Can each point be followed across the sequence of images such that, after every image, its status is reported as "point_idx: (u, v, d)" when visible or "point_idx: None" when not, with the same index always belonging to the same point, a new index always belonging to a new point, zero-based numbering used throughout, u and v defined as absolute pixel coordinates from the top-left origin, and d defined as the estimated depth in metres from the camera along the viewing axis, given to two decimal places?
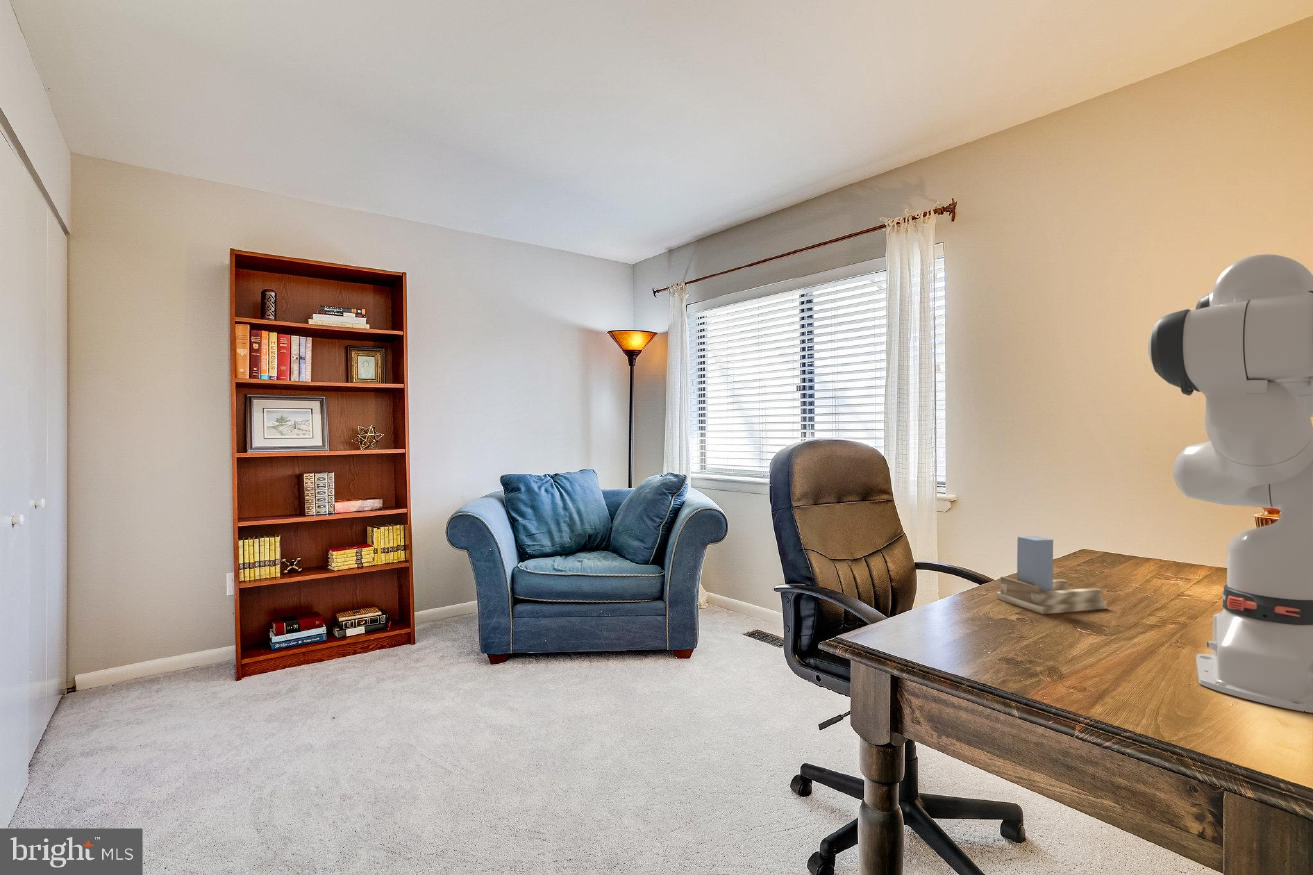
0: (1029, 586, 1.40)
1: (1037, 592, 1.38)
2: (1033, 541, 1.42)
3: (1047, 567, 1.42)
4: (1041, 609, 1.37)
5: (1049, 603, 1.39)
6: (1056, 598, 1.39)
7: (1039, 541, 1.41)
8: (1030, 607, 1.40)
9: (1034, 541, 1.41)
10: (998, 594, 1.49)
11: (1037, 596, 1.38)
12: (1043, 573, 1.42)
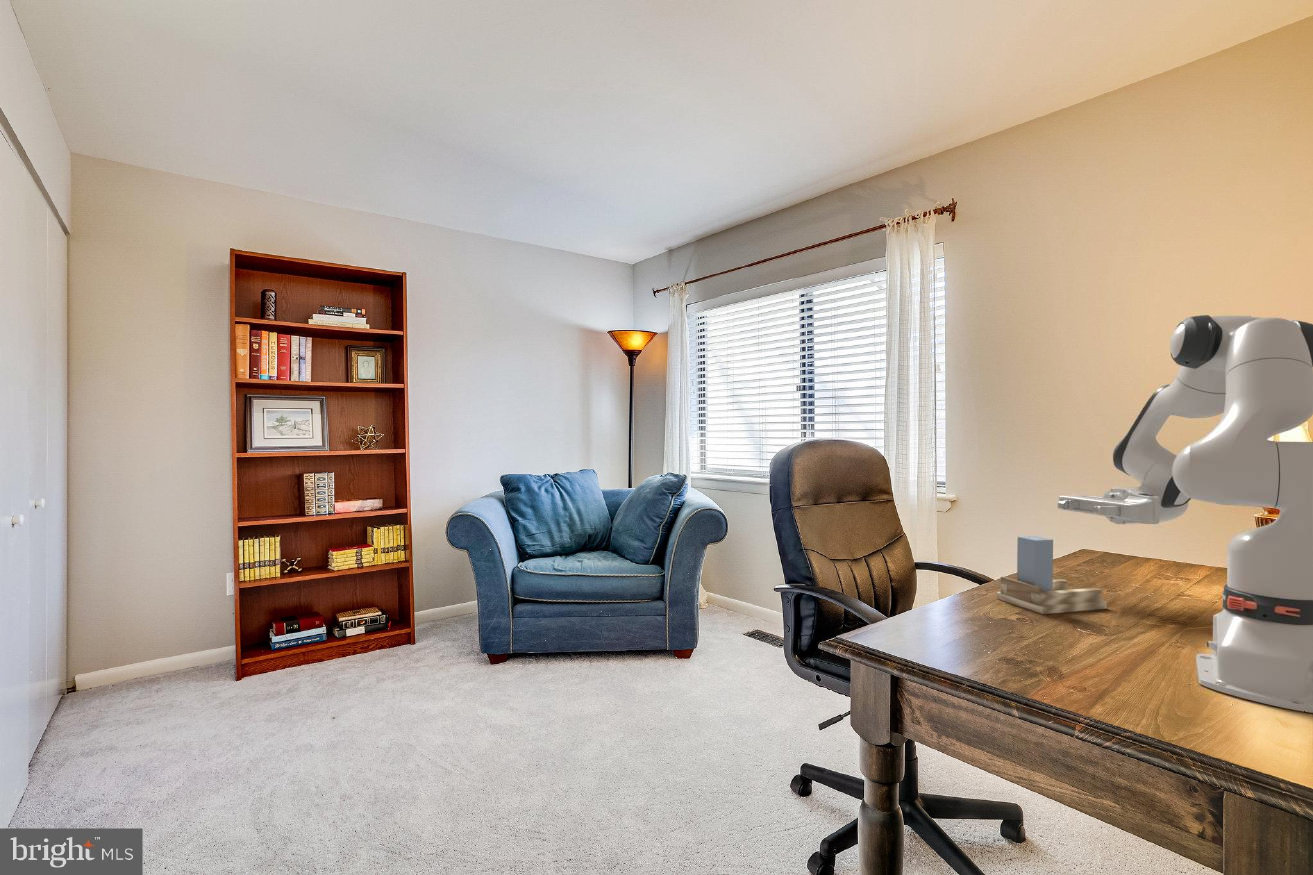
0: (1029, 586, 1.40)
1: (1037, 592, 1.38)
2: (1033, 541, 1.42)
3: (1047, 567, 1.42)
4: (1041, 609, 1.37)
5: (1049, 603, 1.39)
6: (1056, 598, 1.39)
7: (1039, 541, 1.41)
8: (1030, 607, 1.40)
9: (1034, 541, 1.41)
10: (998, 594, 1.49)
11: (1037, 596, 1.38)
12: (1043, 573, 1.42)
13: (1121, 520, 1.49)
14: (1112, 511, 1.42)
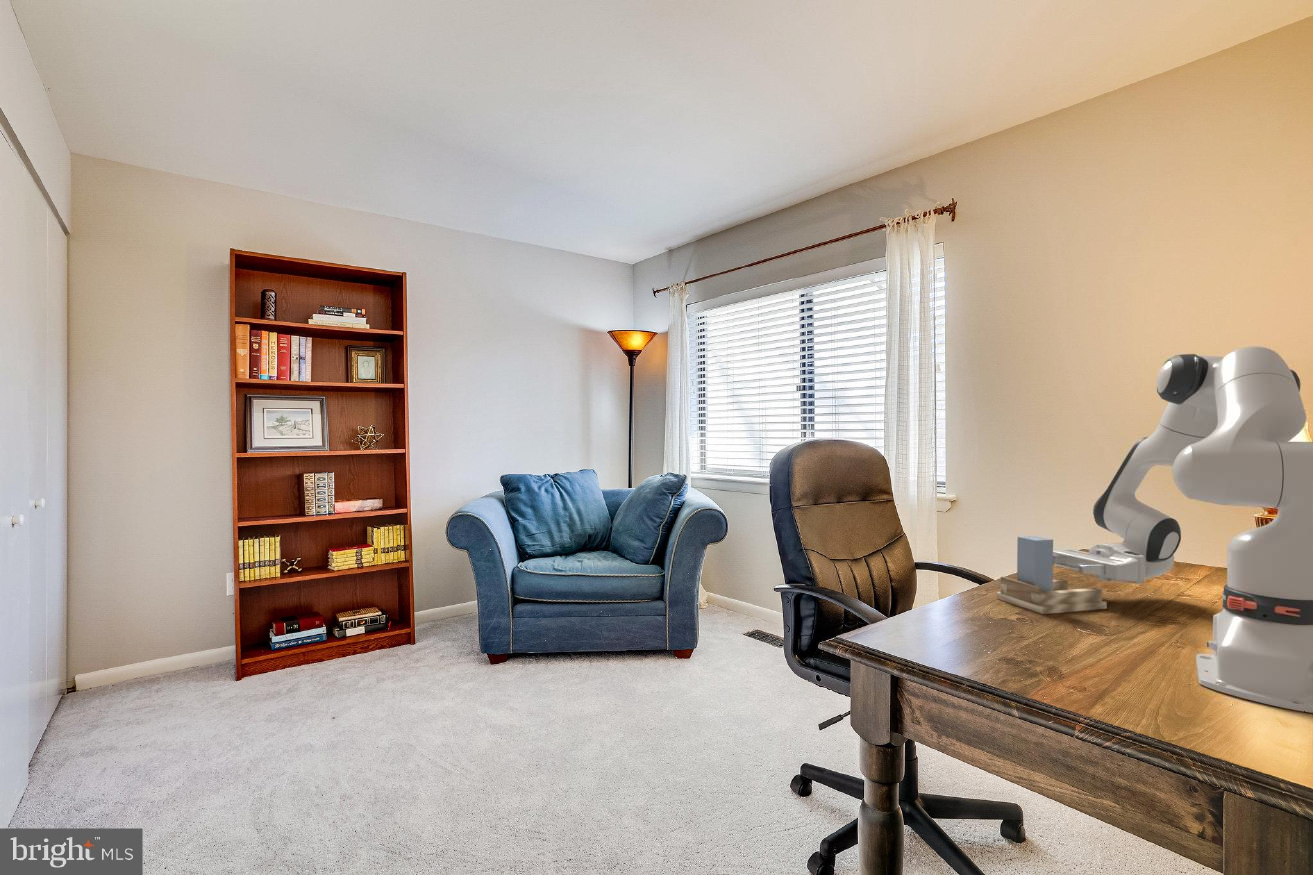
0: (1029, 586, 1.40)
1: (1037, 592, 1.38)
2: (1033, 541, 1.42)
3: (1047, 567, 1.42)
4: (1041, 609, 1.37)
5: (1049, 603, 1.39)
6: (1056, 598, 1.39)
7: (1039, 541, 1.41)
8: (1030, 607, 1.40)
9: (1034, 541, 1.41)
10: (998, 594, 1.49)
11: (1037, 596, 1.38)
12: (1043, 573, 1.42)
13: None
14: (1097, 570, 1.41)
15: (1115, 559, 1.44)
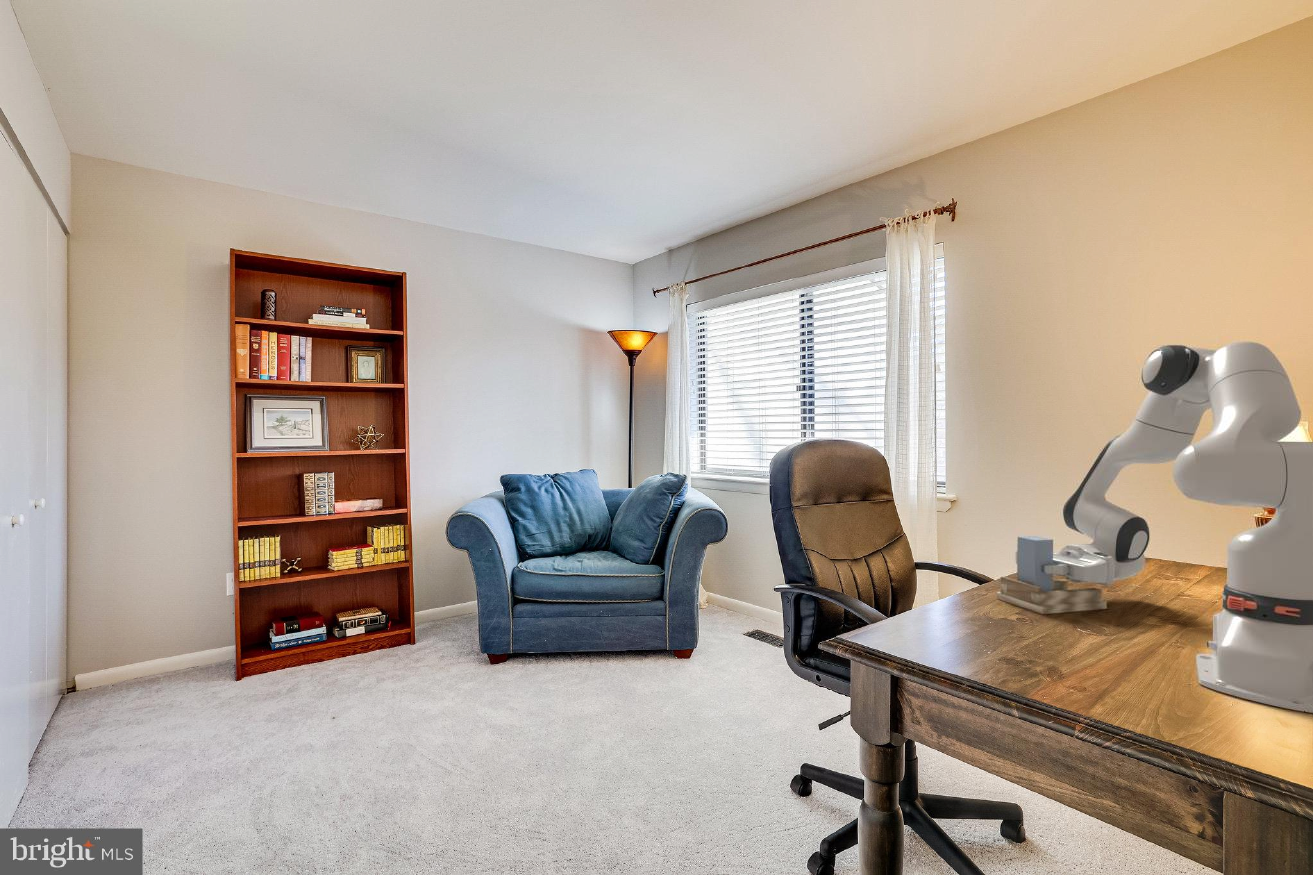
0: (1029, 586, 1.40)
1: (1037, 592, 1.38)
2: (1033, 541, 1.42)
3: None
4: (1041, 609, 1.37)
5: (1049, 603, 1.39)
6: (1056, 598, 1.39)
7: (1039, 541, 1.41)
8: (1030, 607, 1.40)
9: (1034, 541, 1.41)
10: (998, 594, 1.49)
11: (1037, 596, 1.38)
12: (1043, 573, 1.42)
13: None
14: (1059, 570, 1.40)
15: (1084, 560, 1.42)
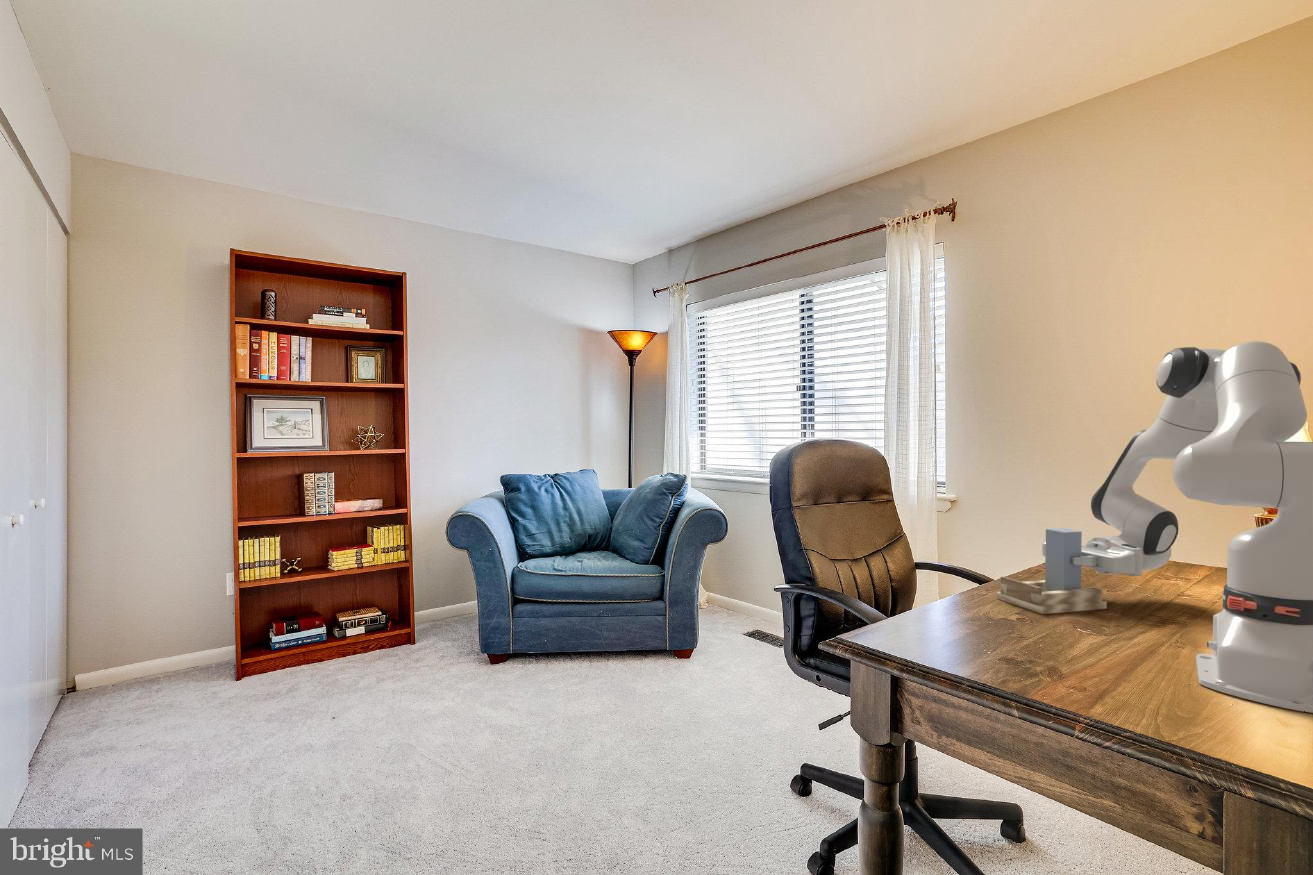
0: (1029, 586, 1.40)
1: (1037, 592, 1.38)
2: (1062, 533, 1.44)
3: None
4: (1041, 609, 1.37)
5: (1049, 603, 1.39)
6: (1056, 598, 1.39)
7: (1068, 533, 1.44)
8: (1030, 607, 1.40)
9: (1063, 533, 1.43)
10: (998, 594, 1.49)
11: (1037, 596, 1.38)
12: (1072, 565, 1.44)
13: (1104, 570, 1.48)
14: (1088, 561, 1.42)
15: (1112, 552, 1.44)
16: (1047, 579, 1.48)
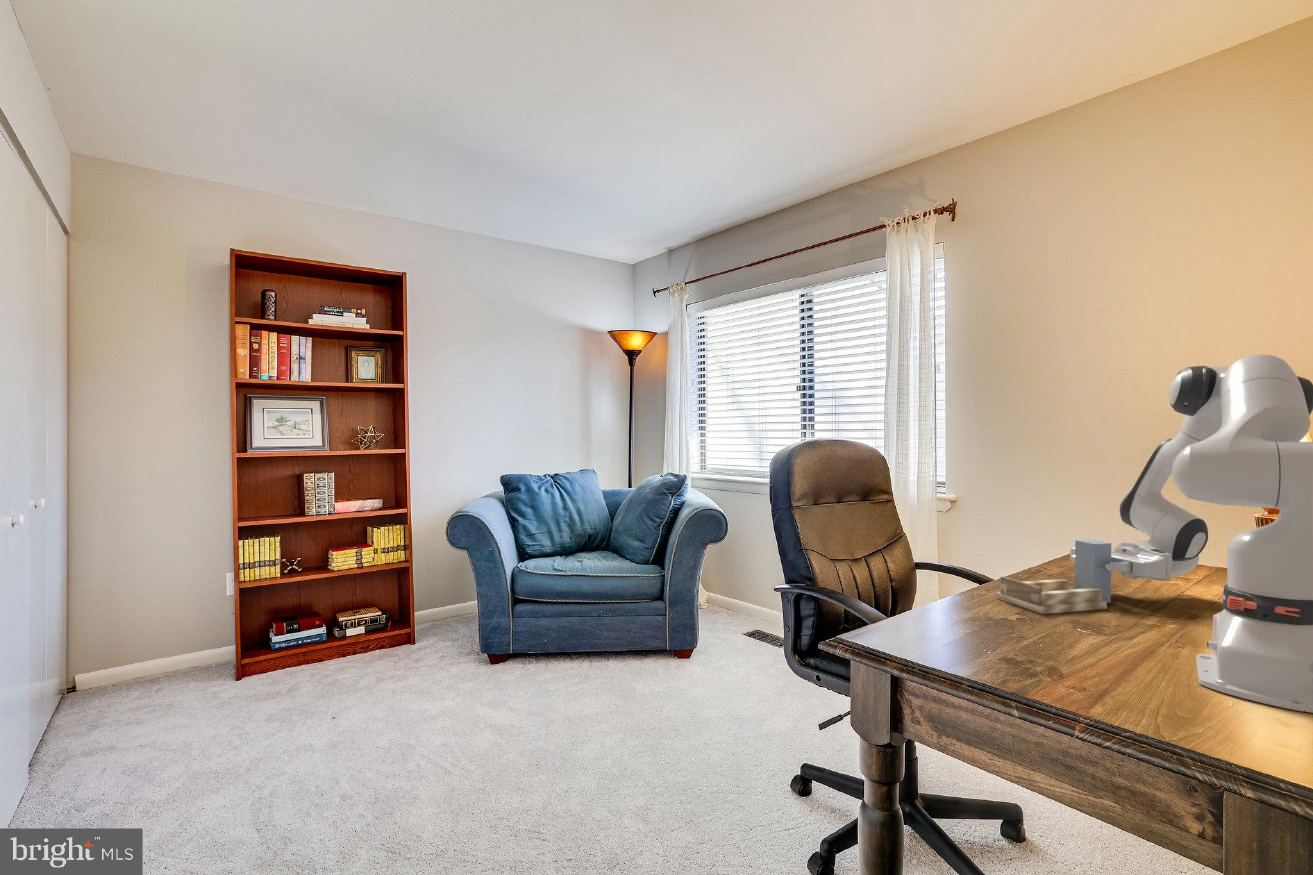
0: (1029, 586, 1.40)
1: (1037, 592, 1.38)
2: (1092, 545, 1.46)
3: (1105, 570, 1.46)
4: (1041, 609, 1.37)
5: (1049, 603, 1.39)
6: (1056, 598, 1.39)
7: (1098, 545, 1.46)
8: (1030, 607, 1.40)
9: (1093, 545, 1.46)
10: (998, 594, 1.49)
11: (1037, 596, 1.38)
12: (1102, 576, 1.46)
13: (1133, 574, 1.50)
14: (1123, 568, 1.43)
15: (1142, 557, 1.46)
16: None
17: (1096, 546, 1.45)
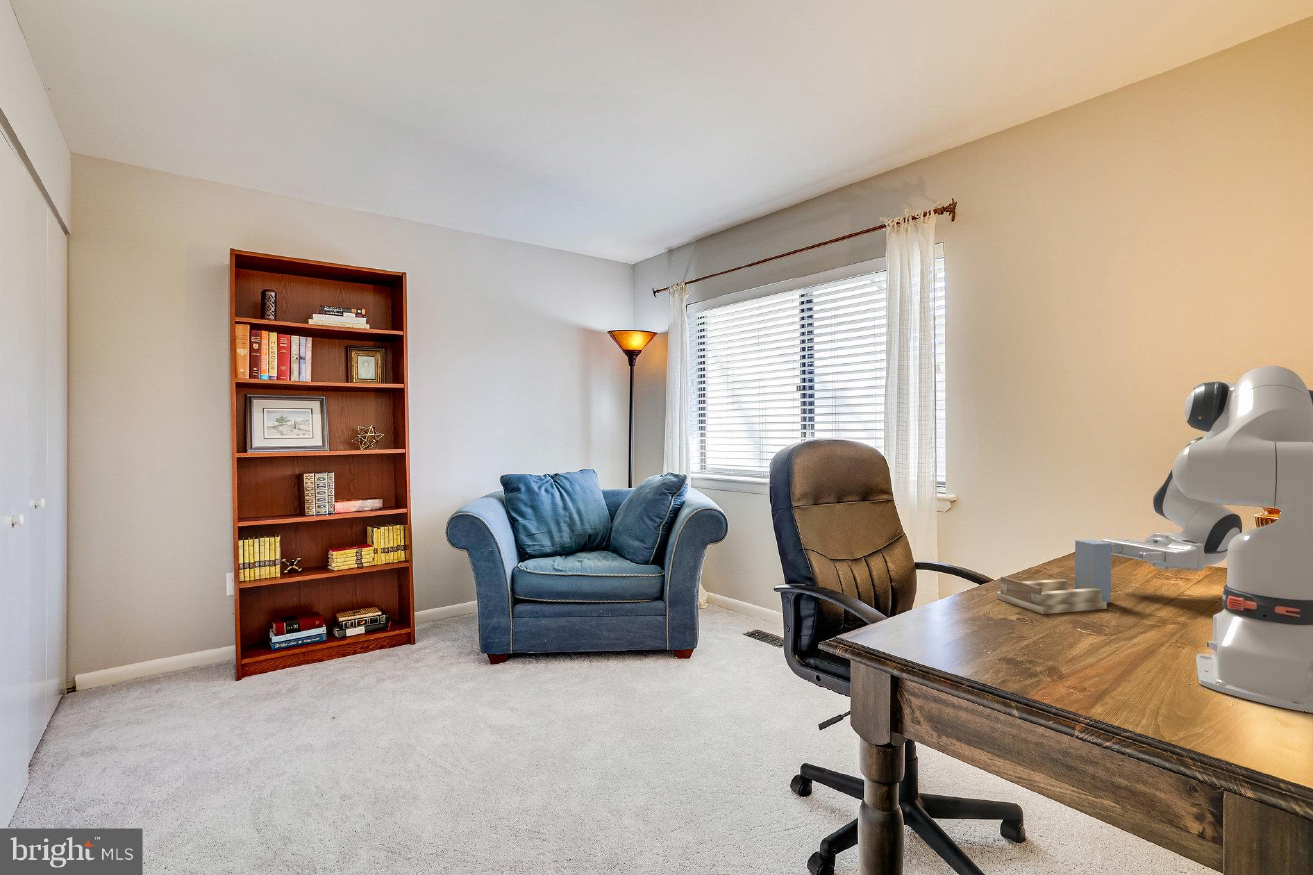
0: (1029, 586, 1.40)
1: (1037, 592, 1.38)
2: (1092, 545, 1.46)
3: (1106, 570, 1.46)
4: (1041, 609, 1.37)
5: (1049, 603, 1.39)
6: (1056, 598, 1.39)
7: (1098, 545, 1.46)
8: (1030, 607, 1.40)
9: (1093, 545, 1.46)
10: (998, 594, 1.49)
11: (1037, 596, 1.38)
12: (1102, 576, 1.46)
13: (1164, 565, 1.53)
14: (1157, 557, 1.45)
15: (1173, 547, 1.49)
16: None
17: (1096, 546, 1.45)
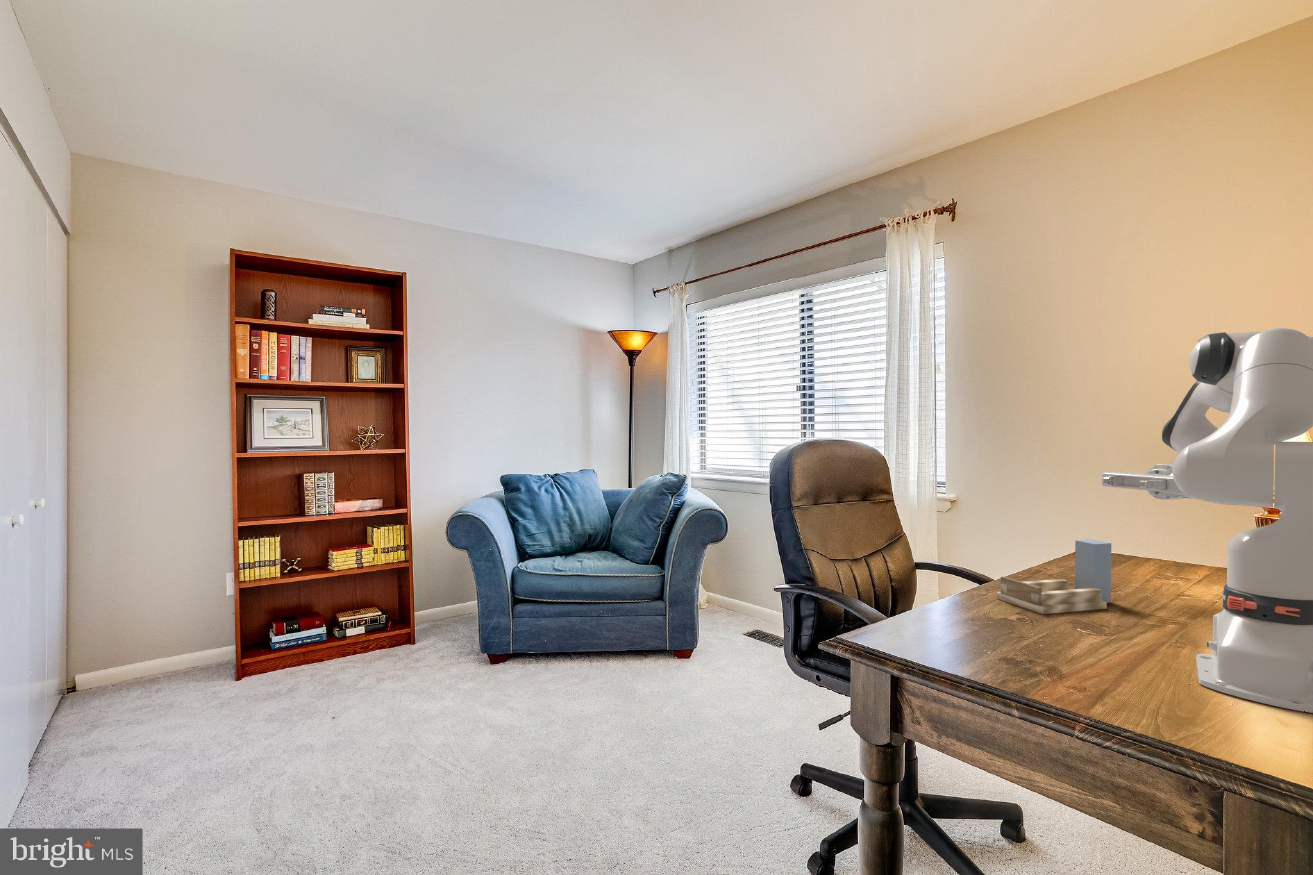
0: (1029, 586, 1.40)
1: (1037, 592, 1.38)
2: (1092, 545, 1.46)
3: (1106, 570, 1.46)
4: (1041, 609, 1.37)
5: (1049, 603, 1.39)
6: (1056, 598, 1.39)
7: (1098, 545, 1.46)
8: (1030, 607, 1.40)
9: (1093, 545, 1.46)
10: (998, 594, 1.49)
11: (1037, 596, 1.38)
12: (1102, 576, 1.46)
13: (1165, 495, 1.53)
14: (1159, 485, 1.45)
15: None
16: None
17: (1096, 546, 1.45)
